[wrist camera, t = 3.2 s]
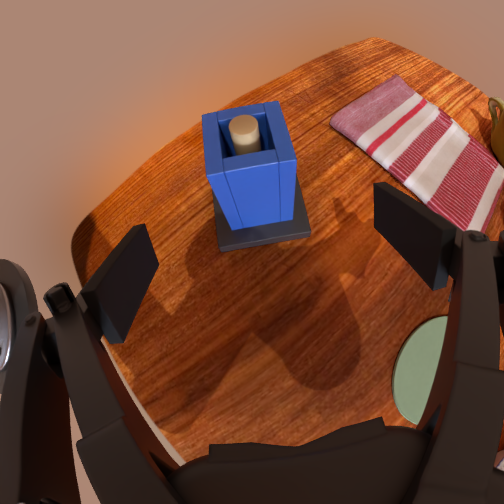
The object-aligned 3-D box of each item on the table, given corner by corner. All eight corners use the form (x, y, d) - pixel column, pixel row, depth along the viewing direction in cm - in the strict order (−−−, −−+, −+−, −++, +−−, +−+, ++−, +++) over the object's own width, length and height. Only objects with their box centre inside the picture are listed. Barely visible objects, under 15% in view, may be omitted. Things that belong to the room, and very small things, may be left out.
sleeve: (292, 219, 27) (297, 159, 17) (231, 230, 27) (205, 176, 18) (280, 168, 29) (278, 100, 19) (224, 179, 29) (201, 114, 19)
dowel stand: (309, 236, 28) (327, 166, 16) (221, 252, 28) (179, 193, 16) (291, 163, 30) (292, 77, 18) (213, 177, 31) (179, 98, 19)
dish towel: (389, 82, 33) (393, 70, 31) (502, 180, 27) (511, 172, 24) (326, 128, 31) (328, 113, 29) (467, 257, 25) (479, 251, 22)
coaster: (404, 443, 20) (407, 445, 20) (377, 347, 24) (379, 347, 23) (485, 388, 20) (488, 389, 20) (463, 298, 24) (465, 297, 23)
